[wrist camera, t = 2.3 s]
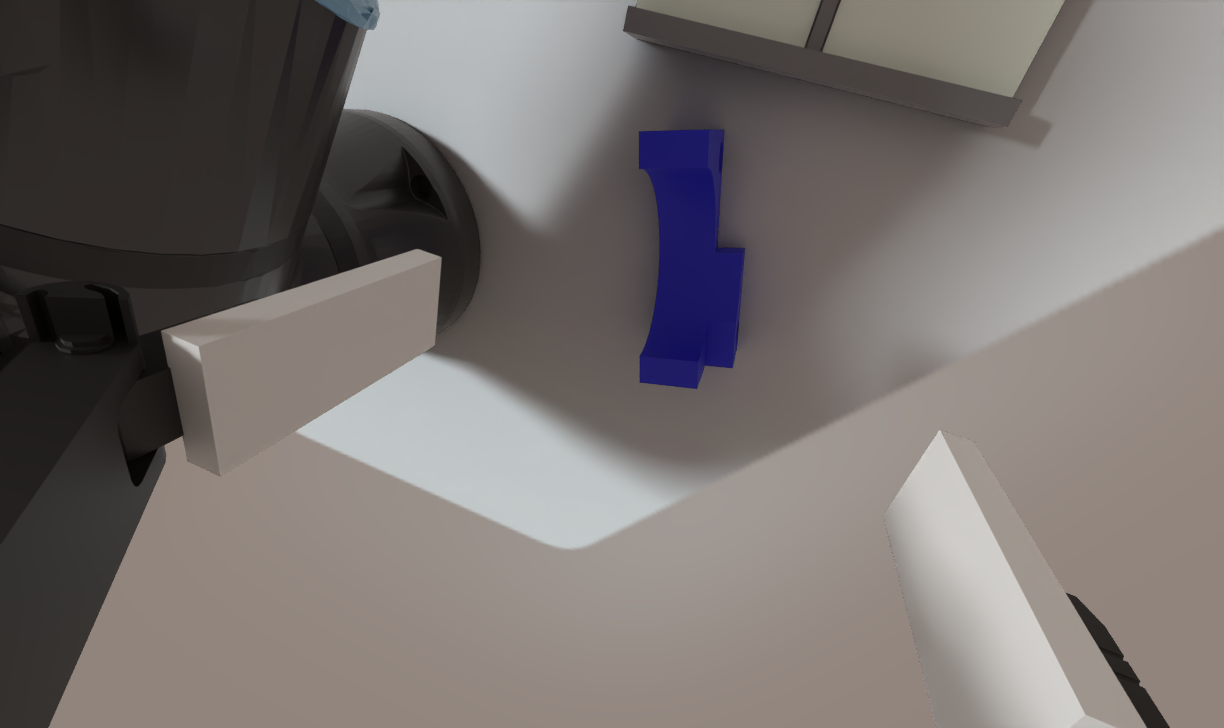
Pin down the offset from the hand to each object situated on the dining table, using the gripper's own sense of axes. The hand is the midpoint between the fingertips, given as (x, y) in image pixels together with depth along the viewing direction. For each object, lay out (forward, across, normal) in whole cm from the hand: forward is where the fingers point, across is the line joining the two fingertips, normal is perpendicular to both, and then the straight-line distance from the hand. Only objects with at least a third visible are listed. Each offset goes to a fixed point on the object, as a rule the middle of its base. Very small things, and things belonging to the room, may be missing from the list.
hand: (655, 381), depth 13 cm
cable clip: (+18, -1, 0) cm, 18 cm away
